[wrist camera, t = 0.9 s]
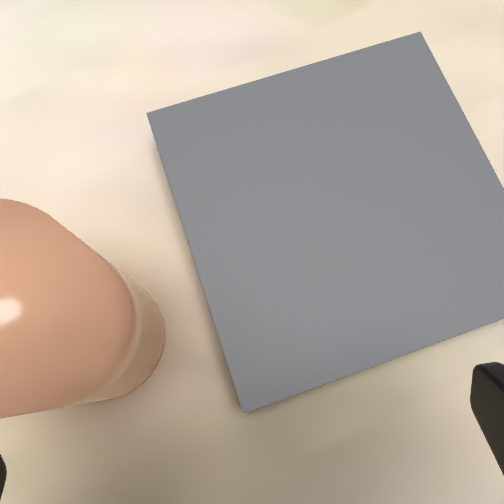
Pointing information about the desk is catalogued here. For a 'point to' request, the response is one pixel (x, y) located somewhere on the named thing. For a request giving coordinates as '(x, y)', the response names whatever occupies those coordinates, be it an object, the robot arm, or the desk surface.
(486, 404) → the robot arm
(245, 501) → the desk surface
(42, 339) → the terracotta cylinder
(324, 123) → the base block
